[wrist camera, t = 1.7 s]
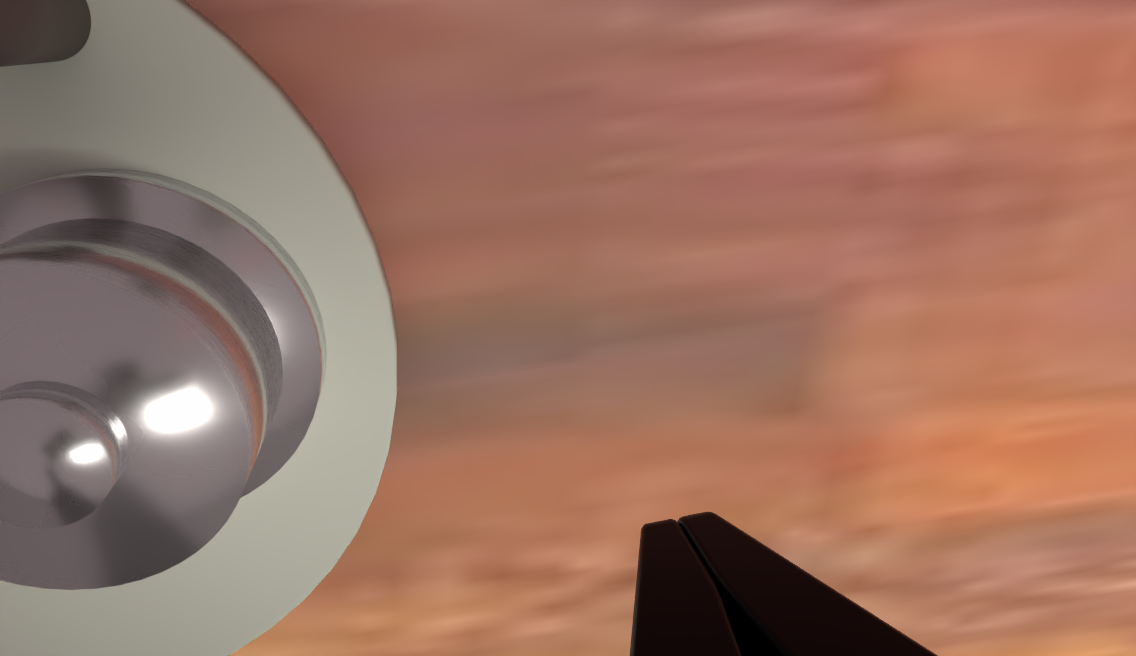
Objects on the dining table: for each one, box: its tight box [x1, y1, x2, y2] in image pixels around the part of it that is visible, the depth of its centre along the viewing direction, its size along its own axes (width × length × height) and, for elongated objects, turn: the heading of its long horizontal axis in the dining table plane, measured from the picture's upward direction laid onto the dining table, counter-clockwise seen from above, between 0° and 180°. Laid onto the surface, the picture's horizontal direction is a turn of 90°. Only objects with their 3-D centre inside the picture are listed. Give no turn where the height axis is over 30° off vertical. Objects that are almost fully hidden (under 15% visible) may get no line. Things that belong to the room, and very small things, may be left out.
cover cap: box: [0, 168, 327, 590], centre depth 14 cm, size 8×8×5 cm
